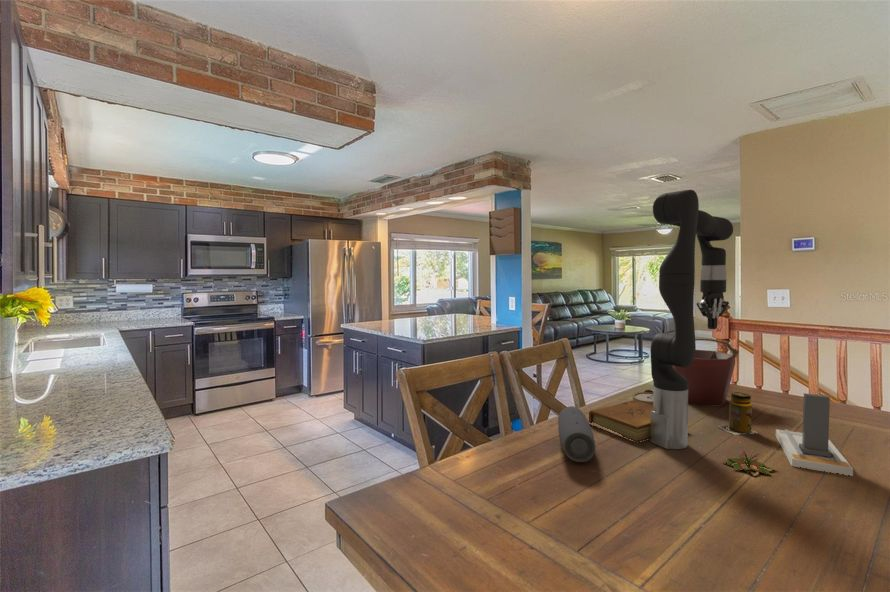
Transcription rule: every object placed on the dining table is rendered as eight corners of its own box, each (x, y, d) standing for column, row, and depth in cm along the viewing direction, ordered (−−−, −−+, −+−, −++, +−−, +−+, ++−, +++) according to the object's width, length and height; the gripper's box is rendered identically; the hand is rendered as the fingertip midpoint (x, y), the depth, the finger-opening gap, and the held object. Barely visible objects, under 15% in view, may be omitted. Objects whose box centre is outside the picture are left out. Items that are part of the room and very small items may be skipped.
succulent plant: (741, 456, 119) (742, 440, 119) (788, 475, 108) (789, 457, 108) (711, 463, 115) (711, 447, 115) (756, 483, 104) (757, 465, 104)
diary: (632, 414, 156) (632, 399, 156) (682, 430, 140) (682, 413, 139) (588, 426, 145) (589, 409, 144) (637, 444, 128) (637, 426, 128)
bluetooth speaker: (597, 468, 112) (598, 431, 112) (561, 465, 114) (561, 429, 114) (586, 436, 135) (586, 405, 134) (556, 434, 136) (556, 403, 136)
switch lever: (798, 447, 118) (800, 392, 117) (827, 451, 115) (829, 394, 114) (802, 452, 115) (803, 395, 114) (831, 457, 112) (833, 398, 111)
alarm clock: (626, 397, 167) (647, 384, 175) (627, 408, 168) (648, 395, 175) (653, 404, 157) (674, 390, 165) (654, 416, 158) (676, 402, 166)
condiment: (758, 433, 135) (759, 396, 134) (734, 435, 133) (735, 398, 133) (739, 425, 142) (740, 390, 141) (716, 427, 141) (717, 391, 140)
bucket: (736, 397, 173) (738, 337, 172) (740, 412, 155) (741, 345, 153) (669, 389, 186) (670, 333, 185) (664, 402, 168) (665, 340, 166)
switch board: (775, 435, 133) (775, 426, 132) (826, 442, 127) (826, 432, 126) (791, 466, 112) (792, 455, 112) (852, 476, 106) (853, 464, 106)
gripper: (709, 279, 139) (708, 331, 140) (737, 278, 144) (736, 329, 145) (689, 279, 146) (688, 328, 147) (716, 278, 151) (715, 326, 152)
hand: (712, 328), depth 146 cm, fingers closed
